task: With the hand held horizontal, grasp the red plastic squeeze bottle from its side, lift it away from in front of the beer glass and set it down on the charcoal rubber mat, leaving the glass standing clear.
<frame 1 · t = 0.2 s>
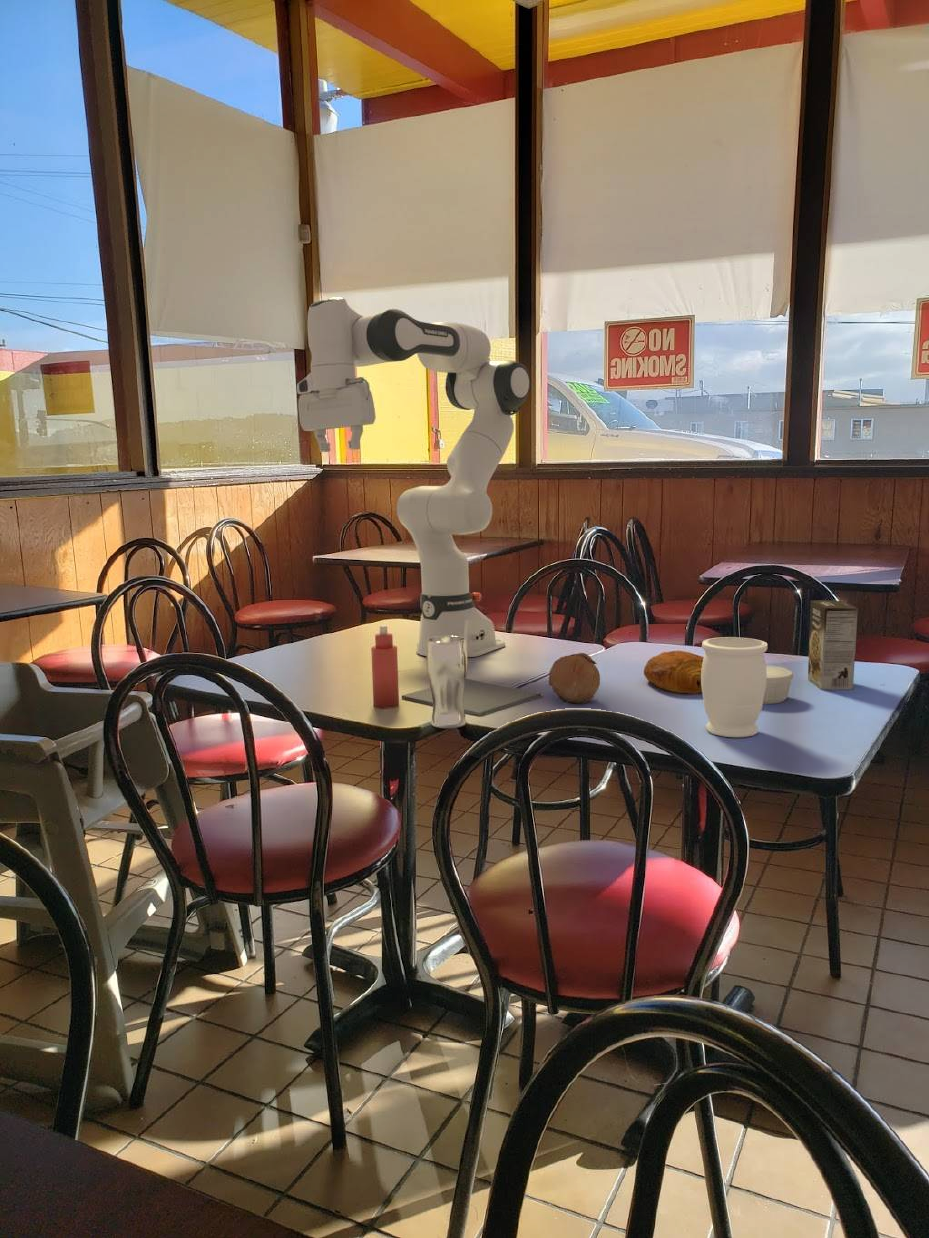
hand: (339, 450, 194), 47 cm above the table, fingers open, 8 cm apart
mat: (471, 697, 183), on the table
brown round fruit: (574, 701, 179), on the table
bottle: (386, 704, 179), on the table
jar: (731, 732, 158), on the table
croissant: (683, 687, 189), on the table
coffee box: (829, 685, 187), on the table
ramekin: (759, 699, 178), on the table
beer glass: (448, 724, 165), on the table
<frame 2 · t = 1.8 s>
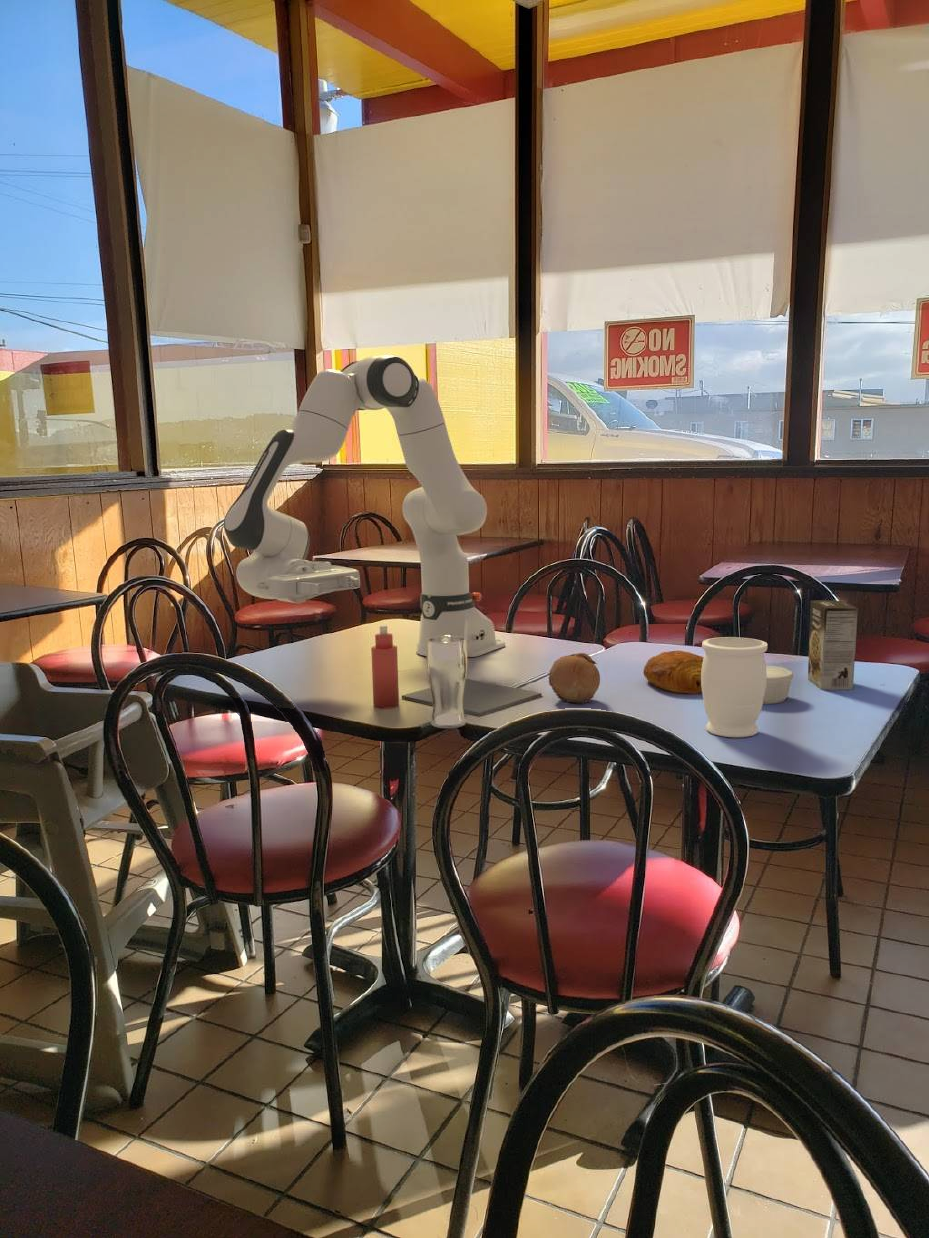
hand: (339, 586, 183), 22 cm above the table, fingers open, 8 cm apart
nothing on the table moved.
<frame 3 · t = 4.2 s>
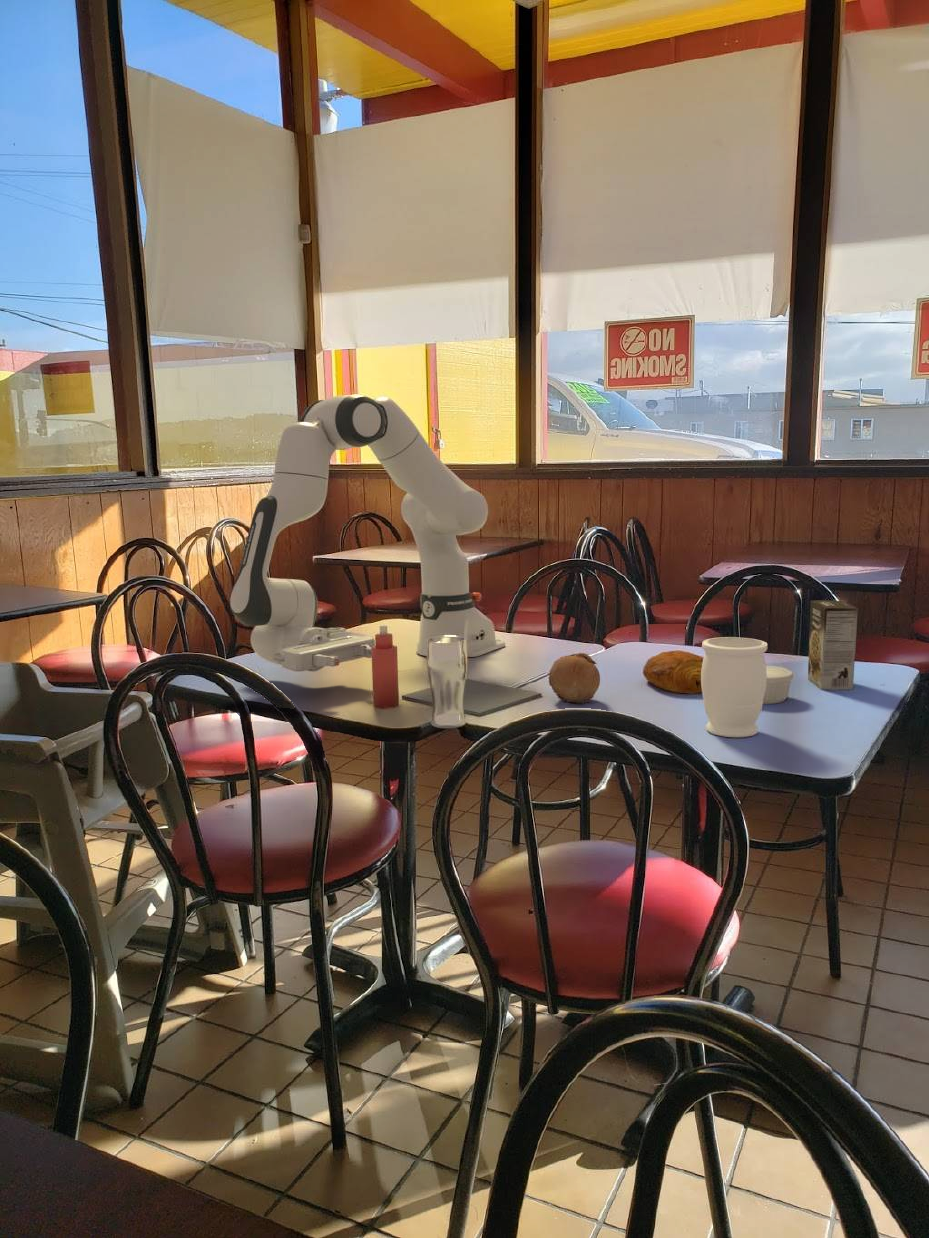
hand: (355, 657, 183), 8 cm above the table, fingers open, 8 cm apart
nothing on the table moved.
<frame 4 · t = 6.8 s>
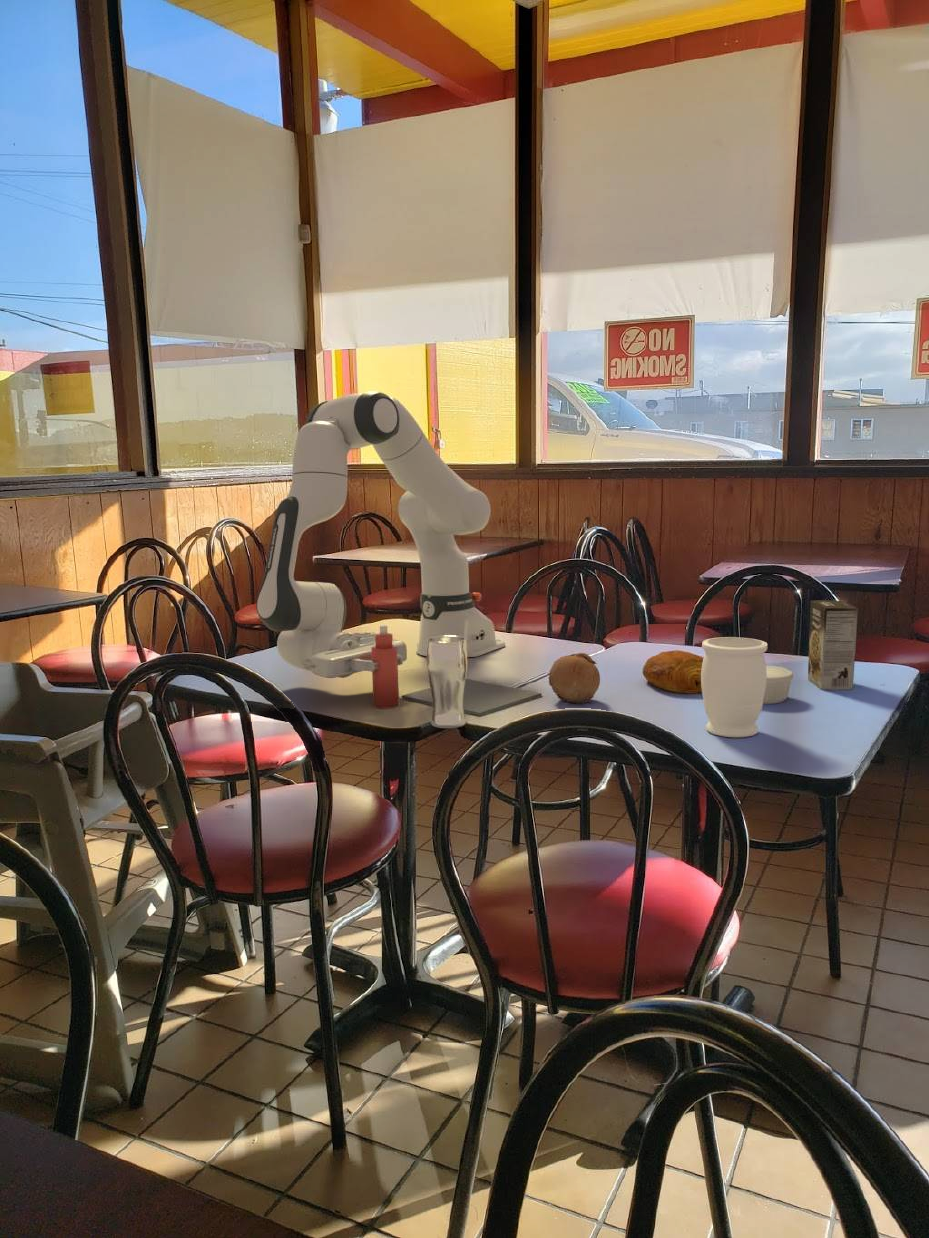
hand: (388, 663, 177), 8 cm above the table, fingers closed on bottle, 5 cm apart
bottle: (386, 704, 179), on the table, touching gripper
everything else where it was.
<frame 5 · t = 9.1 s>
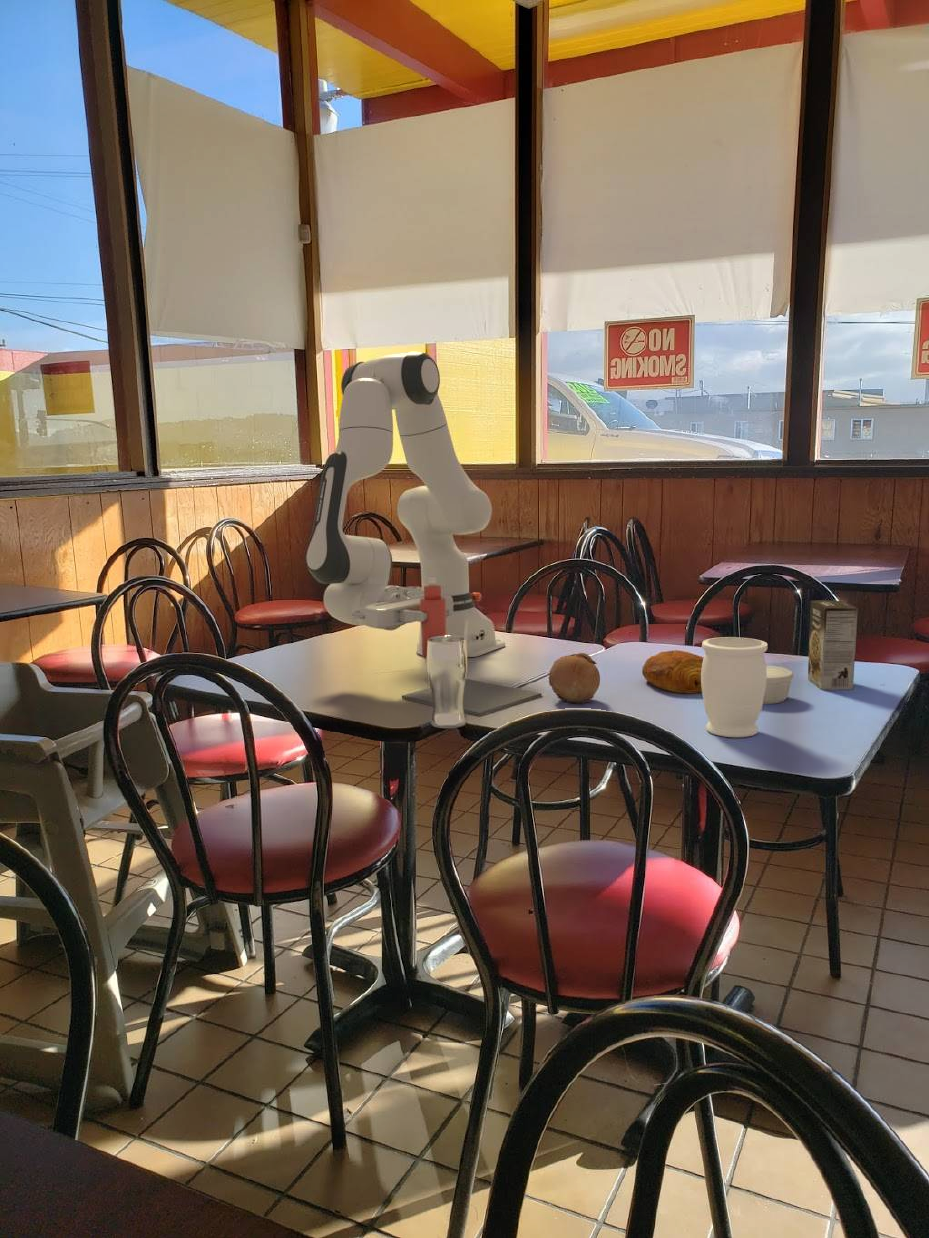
hand: (436, 614, 179), 17 cm above the table, fingers closed on bottle, 5 cm apart
bottle: (434, 656, 181), point 8 cm above the table, touching gripper
everything else where it was.
when the fingers open (9 cm above the table, at t = 11.4 s): bottle stays where it is, resting on mat.
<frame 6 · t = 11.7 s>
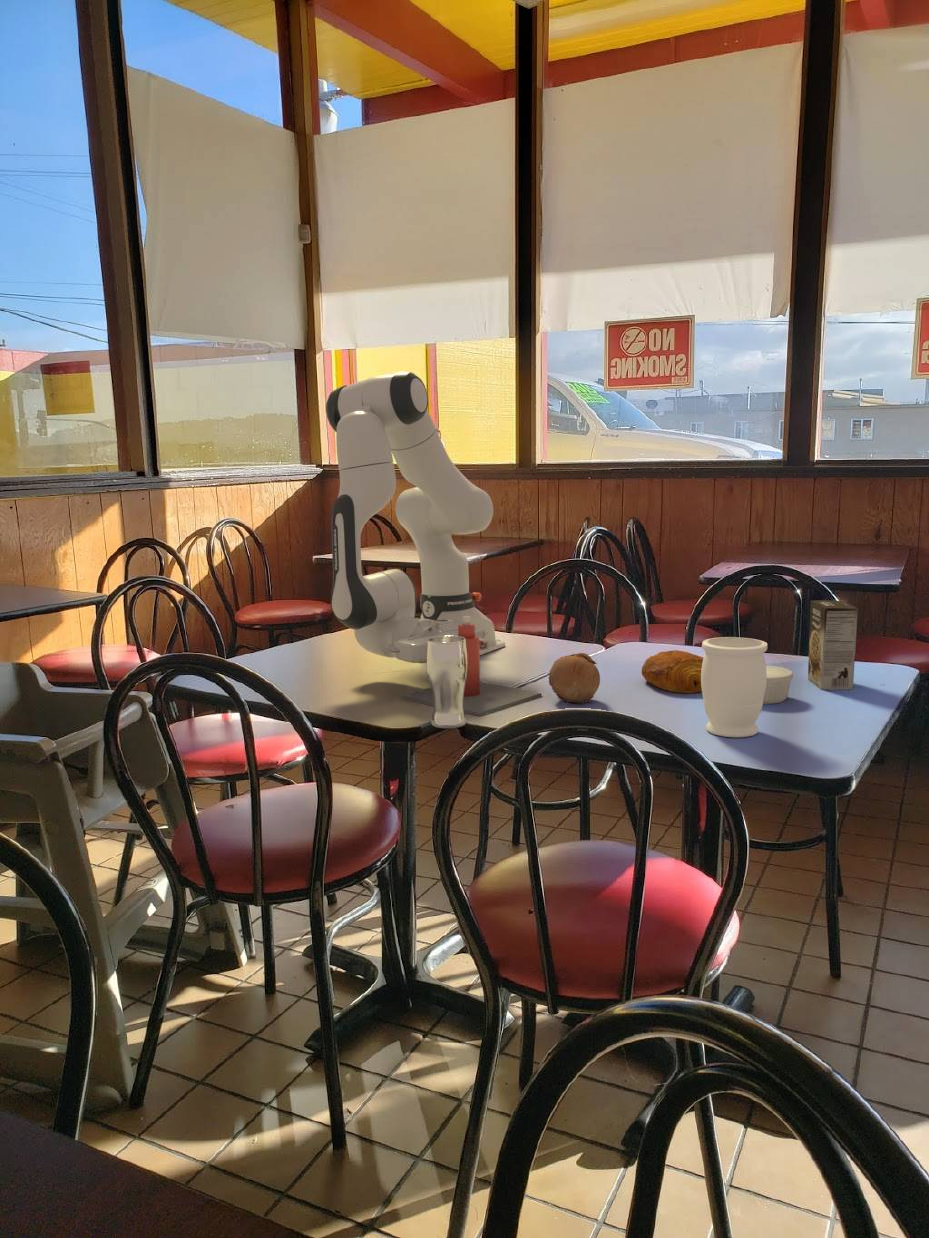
hand: (470, 649, 182), 9 cm above the table, fingers open, 8 cm apart
bottle: (467, 693, 184), point 1 cm above the table, touching mat
everything else where it was.
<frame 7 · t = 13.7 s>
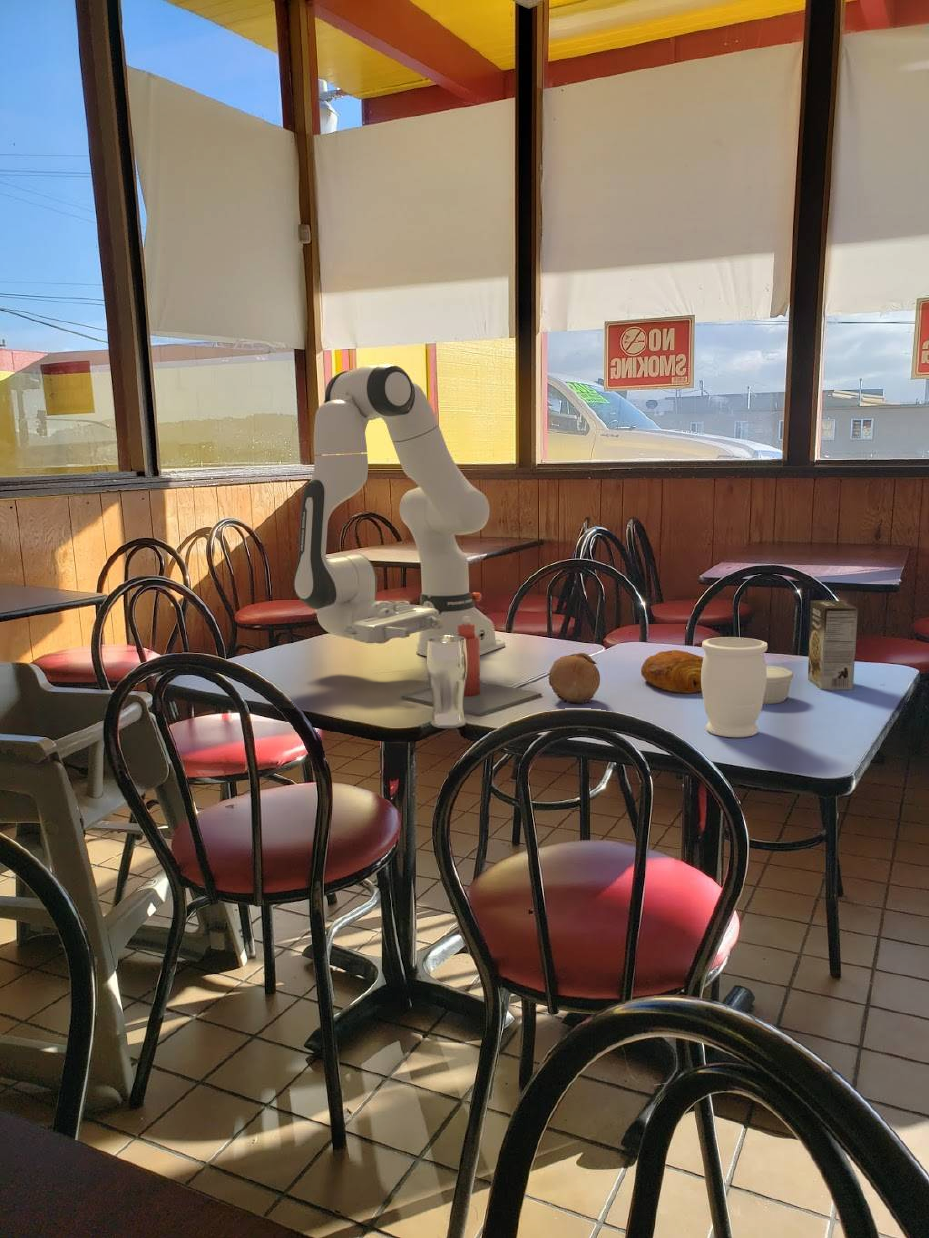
hand: (424, 628, 190), 12 cm above the table, fingers open, 8 cm apart
nothing on the table moved.
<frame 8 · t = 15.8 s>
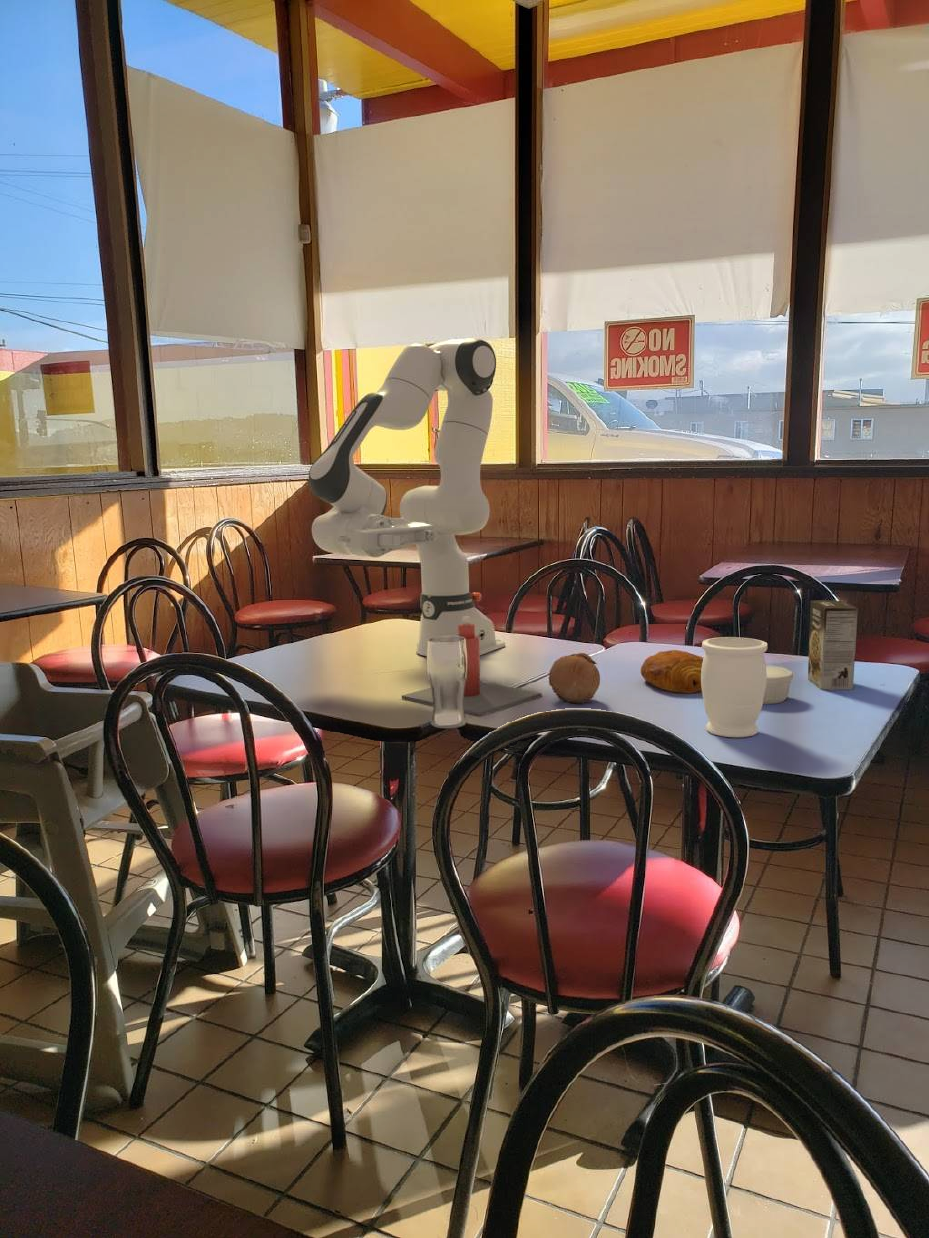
hand: (419, 538, 187), 30 cm above the table, fingers open, 8 cm apart
nothing on the table moved.
at the end: bottle inside the target area on the mat (1.0 cm from its centre), point 0.6 cm above the mat's base; bottle tilted 0°; beer glass moved 0.2 cm from its start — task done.
